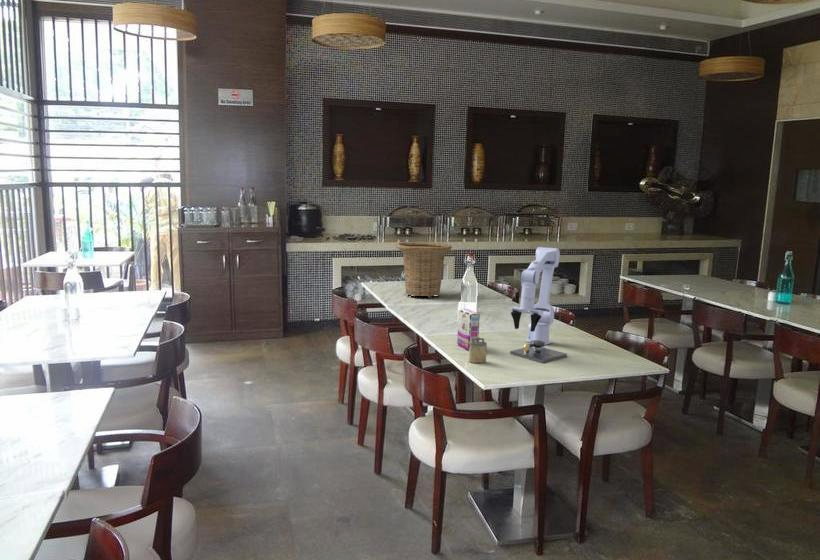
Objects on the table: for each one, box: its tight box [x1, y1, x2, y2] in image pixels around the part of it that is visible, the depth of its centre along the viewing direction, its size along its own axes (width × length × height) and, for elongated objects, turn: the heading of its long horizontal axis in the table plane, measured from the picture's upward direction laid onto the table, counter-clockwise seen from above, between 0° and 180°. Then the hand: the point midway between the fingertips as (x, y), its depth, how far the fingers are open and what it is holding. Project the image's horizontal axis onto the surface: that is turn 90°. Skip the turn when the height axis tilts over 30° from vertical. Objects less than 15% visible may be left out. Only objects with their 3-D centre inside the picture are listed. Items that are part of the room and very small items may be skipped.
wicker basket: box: [396, 241, 453, 297], centre depth 394 cm, size 35×35×33 cm
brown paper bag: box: [468, 337, 488, 364], centre depth 251 cm, size 7×4×10 cm, turn 98°
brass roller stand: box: [523, 340, 546, 353], centre depth 264 cm, size 12×6×4 cm, turn 131°
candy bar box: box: [456, 308, 481, 352], centre depth 272 cm, size 11×5×16 cm, turn 23°
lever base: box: [509, 346, 568, 364], centre depth 264 cm, size 17×17×4 cm
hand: (524, 330), depth 262 cm, fingers open, 7 cm apart
